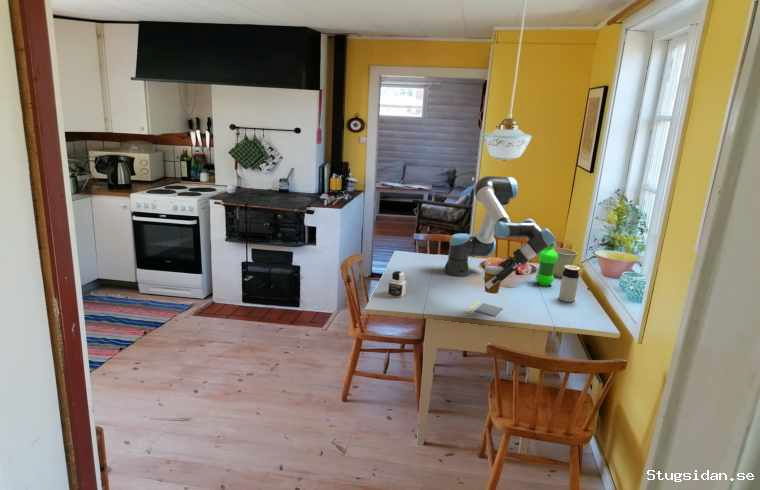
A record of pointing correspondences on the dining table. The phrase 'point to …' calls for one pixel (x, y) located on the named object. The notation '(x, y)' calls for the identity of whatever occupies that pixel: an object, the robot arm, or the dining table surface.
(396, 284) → the medicine bottle
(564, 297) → the travel mug
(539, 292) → the dining table surface
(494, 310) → the mat
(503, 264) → the robot arm
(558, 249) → the plant pot
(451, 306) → the dining table surface
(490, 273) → the disposable coffee cup
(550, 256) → the plastic bottle
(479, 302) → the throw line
